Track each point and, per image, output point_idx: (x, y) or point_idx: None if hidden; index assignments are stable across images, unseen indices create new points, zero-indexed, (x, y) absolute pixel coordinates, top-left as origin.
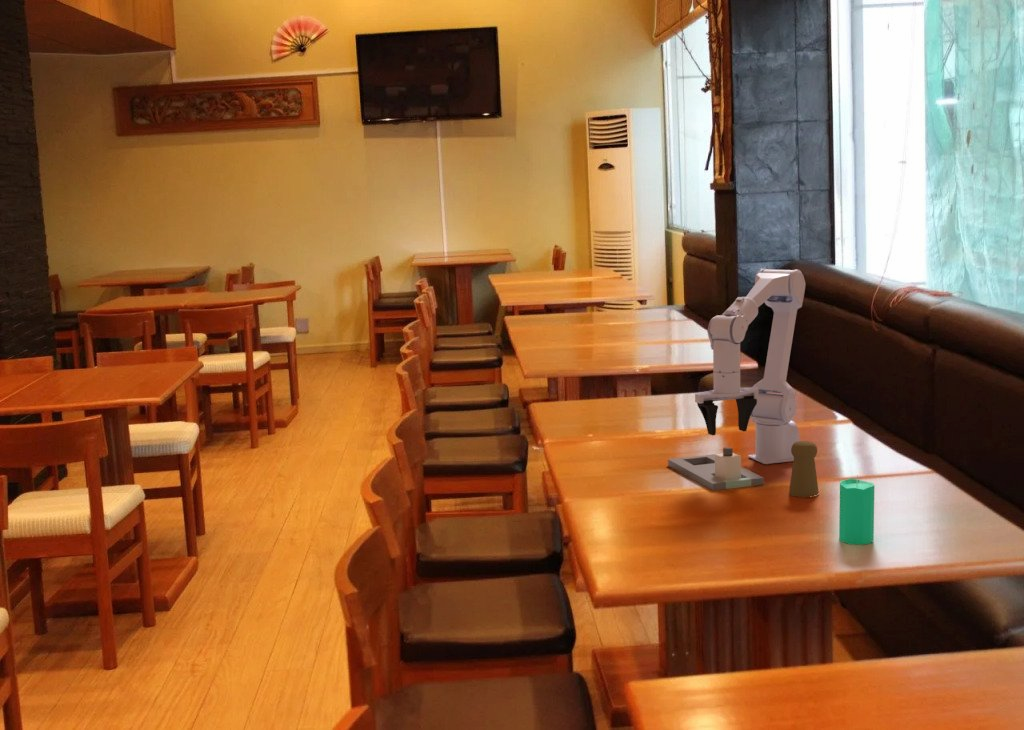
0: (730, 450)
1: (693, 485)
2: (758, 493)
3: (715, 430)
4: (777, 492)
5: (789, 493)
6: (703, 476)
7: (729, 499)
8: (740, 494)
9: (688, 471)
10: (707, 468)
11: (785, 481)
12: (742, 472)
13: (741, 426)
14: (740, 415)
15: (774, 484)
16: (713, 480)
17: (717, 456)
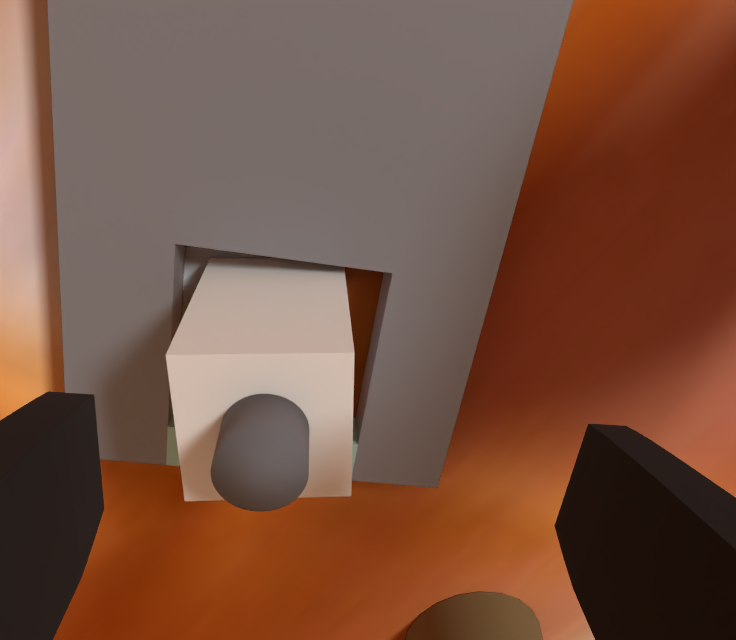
0: (261, 504)
1: (11, 271)
2: (292, 563)
3: (72, 580)
4: (386, 584)
5: (412, 628)
6: (89, 282)
7: (93, 581)
8: (196, 541)
9: (53, 40)
10: (245, 83)
11: (573, 461)
12: (409, 334)
13: (596, 521)
14: (721, 637)
15: (480, 479)
16: (108, 401)
17: (171, 392)
